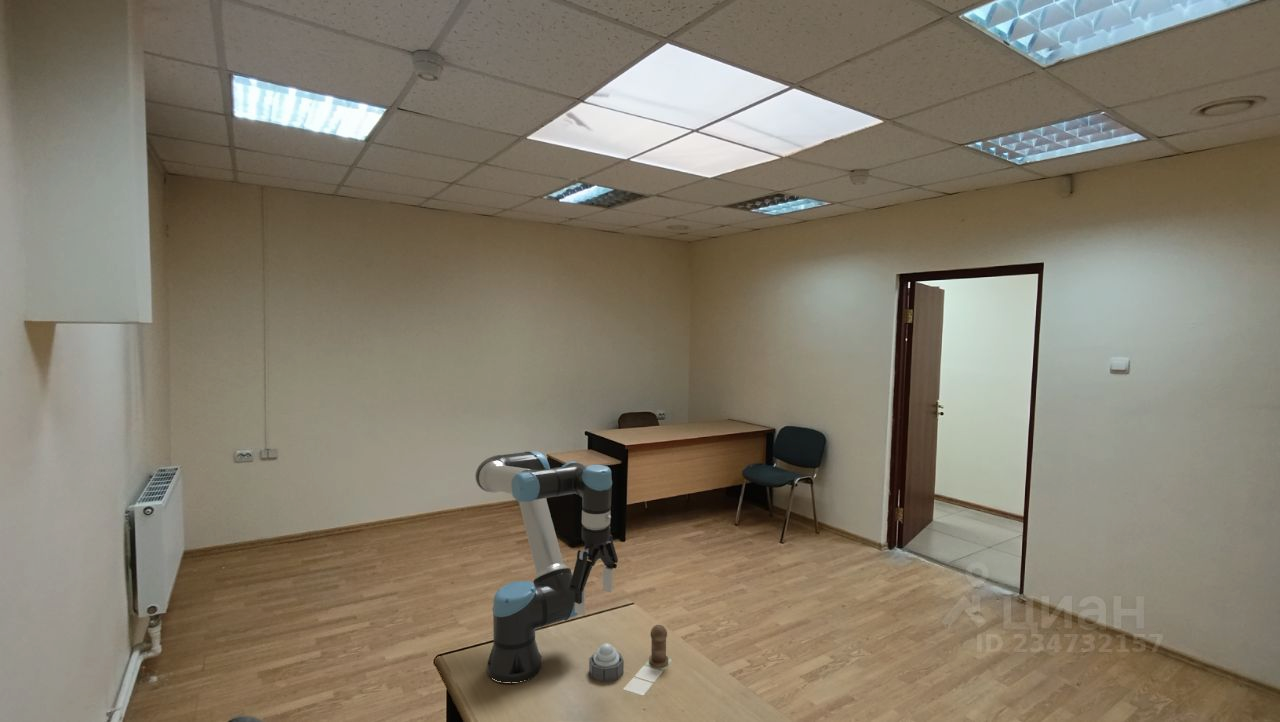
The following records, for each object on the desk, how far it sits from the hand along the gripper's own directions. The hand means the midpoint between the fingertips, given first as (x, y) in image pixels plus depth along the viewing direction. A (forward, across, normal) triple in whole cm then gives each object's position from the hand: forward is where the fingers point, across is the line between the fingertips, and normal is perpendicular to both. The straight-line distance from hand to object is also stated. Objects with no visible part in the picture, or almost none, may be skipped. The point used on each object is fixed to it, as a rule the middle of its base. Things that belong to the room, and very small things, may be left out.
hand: (594, 601), depth 153 cm
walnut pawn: (+23, +17, -12) cm, 31 cm away
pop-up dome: (+21, +6, -1) cm, 22 cm away
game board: (+24, +11, -12) cm, 29 cm away
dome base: (+24, +6, -1) cm, 25 cm away
